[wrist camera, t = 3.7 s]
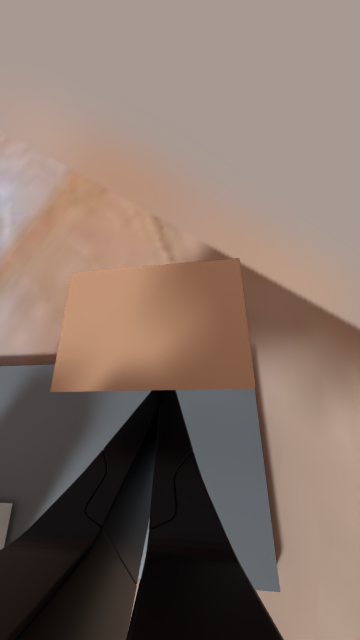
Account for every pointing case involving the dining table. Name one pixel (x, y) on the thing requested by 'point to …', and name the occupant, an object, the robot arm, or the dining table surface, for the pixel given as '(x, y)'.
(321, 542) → the dining table surface
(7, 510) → the grey rectangular block
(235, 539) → the grey flat board
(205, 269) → the white box tan lid
